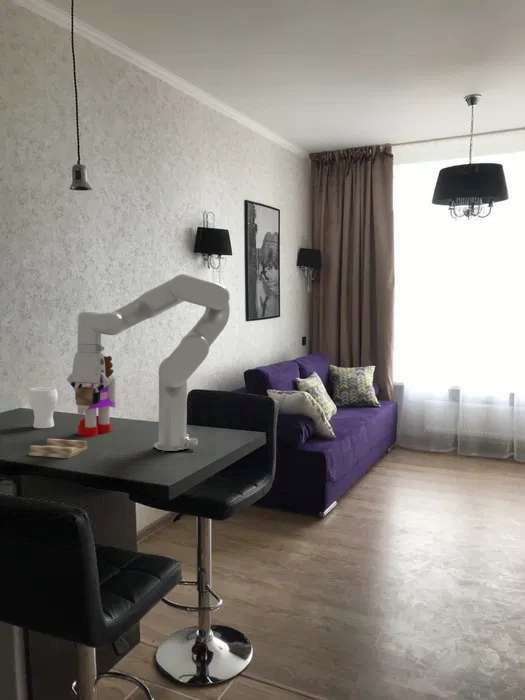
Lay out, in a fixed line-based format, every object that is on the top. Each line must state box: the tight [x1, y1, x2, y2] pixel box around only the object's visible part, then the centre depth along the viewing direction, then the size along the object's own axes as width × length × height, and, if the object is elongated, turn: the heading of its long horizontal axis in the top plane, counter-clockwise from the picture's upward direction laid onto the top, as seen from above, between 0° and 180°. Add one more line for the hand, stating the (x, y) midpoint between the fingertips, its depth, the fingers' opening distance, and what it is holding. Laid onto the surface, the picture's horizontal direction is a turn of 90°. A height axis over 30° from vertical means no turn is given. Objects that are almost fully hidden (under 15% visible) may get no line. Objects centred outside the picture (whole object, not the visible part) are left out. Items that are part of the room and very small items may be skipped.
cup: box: [28, 386, 59, 429], centre depth 224 cm, size 11×11×15 cm
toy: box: [77, 355, 116, 437], centre depth 215 cm, size 18×9×30 cm, turn 149°
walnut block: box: [75, 386, 99, 406], centre depth 190 cm, size 6×6×6 cm
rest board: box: [28, 438, 88, 459], centre depth 187 cm, size 14×12×3 cm
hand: (87, 402), depth 190 cm, fingers closed on walnut block, 5 cm apart
